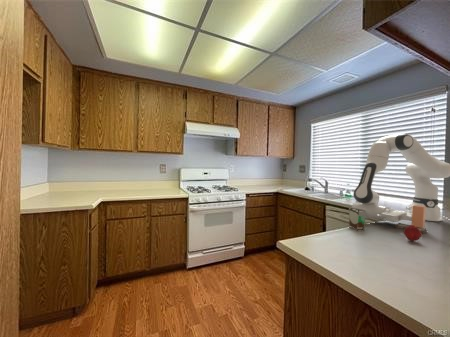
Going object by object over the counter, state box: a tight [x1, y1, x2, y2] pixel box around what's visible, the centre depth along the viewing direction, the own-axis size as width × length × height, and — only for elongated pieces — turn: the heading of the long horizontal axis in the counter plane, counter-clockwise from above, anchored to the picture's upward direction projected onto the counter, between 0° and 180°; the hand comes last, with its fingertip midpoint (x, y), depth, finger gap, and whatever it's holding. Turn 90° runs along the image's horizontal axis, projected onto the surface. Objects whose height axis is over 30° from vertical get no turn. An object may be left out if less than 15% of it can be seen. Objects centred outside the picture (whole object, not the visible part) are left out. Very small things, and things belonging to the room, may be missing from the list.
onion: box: [403, 223, 422, 242], centre depth 93 cm, size 6×6×8 cm
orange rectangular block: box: [411, 205, 426, 229], centre depth 109 cm, size 4×4×12 cm
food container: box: [348, 206, 367, 231], centre depth 110 cm, size 12×6×10 cm, turn 171°
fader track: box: [394, 222, 428, 234], centre depth 111 cm, size 12×5×2 cm, turn 35°
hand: (412, 219), depth 110 cm, fingers closed, pressing on orange rectangular block
